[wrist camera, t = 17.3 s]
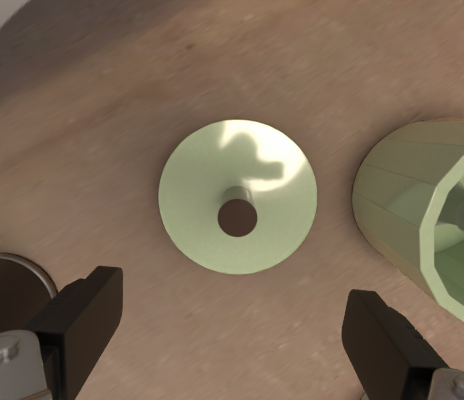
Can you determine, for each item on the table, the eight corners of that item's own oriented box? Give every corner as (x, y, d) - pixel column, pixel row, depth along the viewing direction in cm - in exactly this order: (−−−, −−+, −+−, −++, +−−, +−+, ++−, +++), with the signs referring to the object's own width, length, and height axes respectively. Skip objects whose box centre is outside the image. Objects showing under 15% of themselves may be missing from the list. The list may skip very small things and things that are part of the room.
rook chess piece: (390, 197, 27) (453, 227, 19) (431, 160, 26) (514, 174, 18) (423, 231, 27) (497, 273, 20) (464, 195, 27) (559, 223, 19)
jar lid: (132, 214, 28) (104, 238, 22) (219, 85, 25) (213, 72, 19) (253, 294, 30) (257, 337, 24) (346, 181, 27) (377, 197, 21)
